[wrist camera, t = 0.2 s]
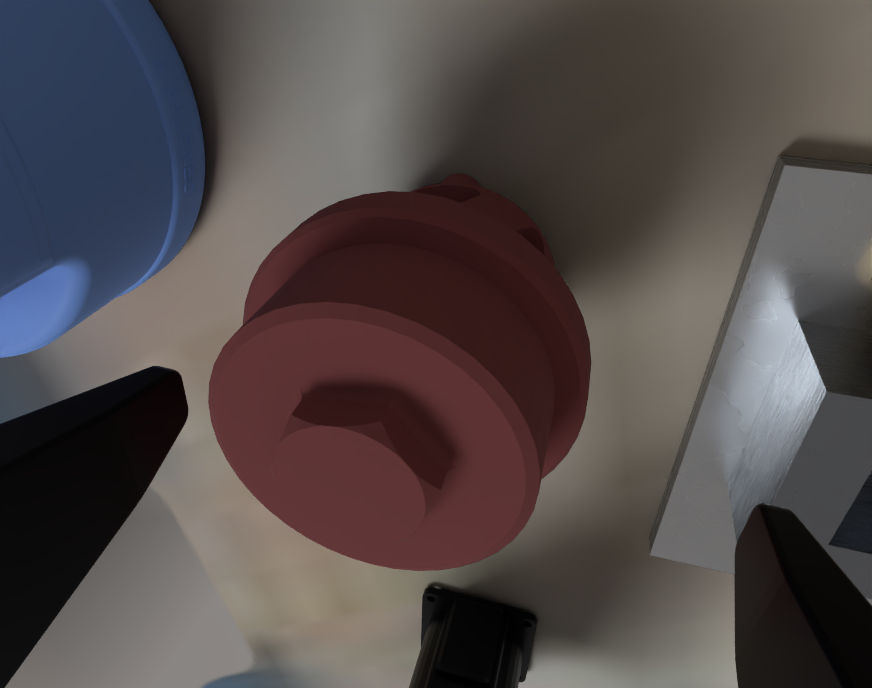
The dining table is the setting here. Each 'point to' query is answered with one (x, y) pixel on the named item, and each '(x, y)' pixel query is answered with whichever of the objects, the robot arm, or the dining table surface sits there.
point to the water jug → (89, 160)
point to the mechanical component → (405, 376)
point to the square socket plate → (787, 382)
